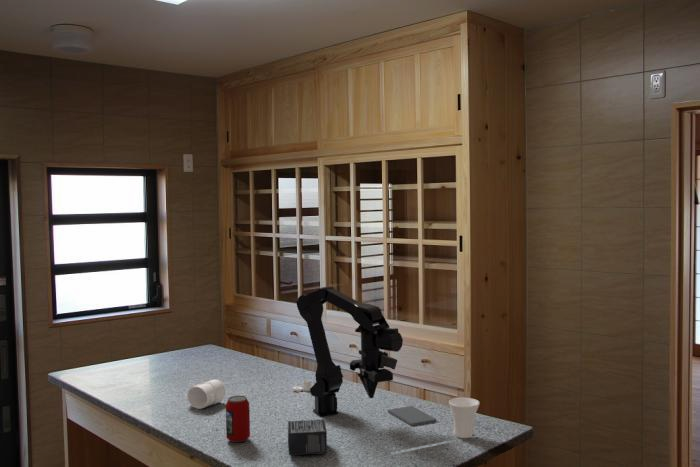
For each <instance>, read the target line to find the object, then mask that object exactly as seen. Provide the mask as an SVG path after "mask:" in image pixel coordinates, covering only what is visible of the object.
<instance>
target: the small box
mask: <svg viewBox="0 0 700 467" xmlns="http://www.w3.org/2000/svg"><path fill="white" fill-rule="evenodd" d="M327 435H328V434H327V428H326V422H325V419H312V420H311V419H309V420H289V421H288V422H287V444H288V445H287V446H288V447H287V448H288V455H289V456H291V455H293V456H295V455H296V456H297V455H314V454H315V455H317V454H327V453H328V451H327V450H328V448H327V447H328V446H327V444H328V443H327V442H328V440H327V439H328V438H327Z"/></svg>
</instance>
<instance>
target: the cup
mask: <svg viewBox="0 0 700 467" xmlns="http://www.w3.org/2000/svg"><path fill="white" fill-rule="evenodd" d="M480 403H481V402H480V401H479V400H477V399H475V398H471V397H455V398H451V399H450V400H449V401H448V404H449V406H450V410H451V415H452V418H453V420H452V421H453V435H454V437H456V438H460V439H469V438H472V437H473V435H474V423H475V422H474V420H475V418H476V415H477V411H478V409H479V407H480Z"/></svg>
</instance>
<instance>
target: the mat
mask: <svg viewBox="0 0 700 467" xmlns="http://www.w3.org/2000/svg"><path fill="white" fill-rule="evenodd" d="M387 413H388V414H389V415H391V416H393V417H395V418H397V419H399V420H401V421H402V422H403V423H405V424H406V425H408V426H410V427H414V426H419V425H424V424H425V425H426V424H429V423H430V424H431V423H436V422H437V418H435V417H434V416H432V415H430V414H427V413H425V412H424V411H423V410H421V409H419V408H417V407H415V406H412V405H408V406H404V407H397V408H391V409H387Z"/></svg>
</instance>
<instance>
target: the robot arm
mask: <svg viewBox="0 0 700 467" xmlns="http://www.w3.org/2000/svg"><path fill="white" fill-rule="evenodd" d="M326 303H328V304H331V305H333V306H334V307H337V308H338V309H340V310H342V311H344V312H345V313H347V314H349V315H350V316H351V317H352V319H353V320H354V321H355V322H356V323H357V324H358V325H359V326H357V328H356V329H355V330H354V332H355V333H358V334H360V350H358V354H359V355H360V356H361V357H360V358H359V359H353V360H351V361H350V363H349V369H350V371H352V372H355V371H356V370H357V369H358V370H359V373H358V374H357V376H358V377H359V380H360V382H361V383H362V386H363V388H364V389H365V392H366V394H367V396H368V398H370V399H373V398H374V397H375V396H374V395H375V393H376V389H377V386H378V384H379V383H383V382H390V381H391V382H392V381H393V380H394V373H393V371H394V370H396V366H397V364H398V359H396V358H394V357H391V356H389V353H388V352H386V351H389V352H397V353H398V352H400V351H401V349H402V346H403V343H404V339H403V336H402V334H401V333H400V332H399V328H396V327H394V328H391V327H390V325H389V324H388V323H389V322H388V321H387V320H386V318H385V316H384V314H383V313H382V309H381V308H380V307H379V306H377V305H373V304H371V303H365V302H360V301H357V300H356V299H355V298H352V297H350V296H348V295H346V294H345V293H342V292H341V291H339V290H337V289H335V288H334V286H330V285H329V286H323V287H320V288H319V289H317V290H314V291H312V292H310V293H307V294H301V295H299V296H298V298H297V300H296V307H297V310H298V313H299V315H300V316H301V318H302V319H303V320H304V321H305V322H306V324H307V328H308V332H309V336H310V340H311V345H312V349H313V352H314V356H315V361H316V364H317V365H316V366H317V367H316V371H315V382H314V383H315V384H314V383H313V384H312V385H311V389H310V391H309V393H311V394H310V396H311V397H314V408H313V409H312V411H313V412H314V413H315V414H316V415H318V416H319V417H325V416H331V415H336V414H339V411H338V398H337V395H336V393H339V392H340V389H341V386H342V384H343V383H344V381H343V378H344V375H343V373H342V368H341V367H342V366H341V365H340V364H338V365H336V364H335V363H334V361H333V359H332V355H331V351H330V347H329V343H328V339H327V335H326V332H325V327H324V325H323V324H324V323H323V319H322V317H323V314H324V313H323V312H324V304H326ZM385 367H386V368H385ZM387 368H389V369H391V370H393V371H391V370H389V369H387Z"/></svg>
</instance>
